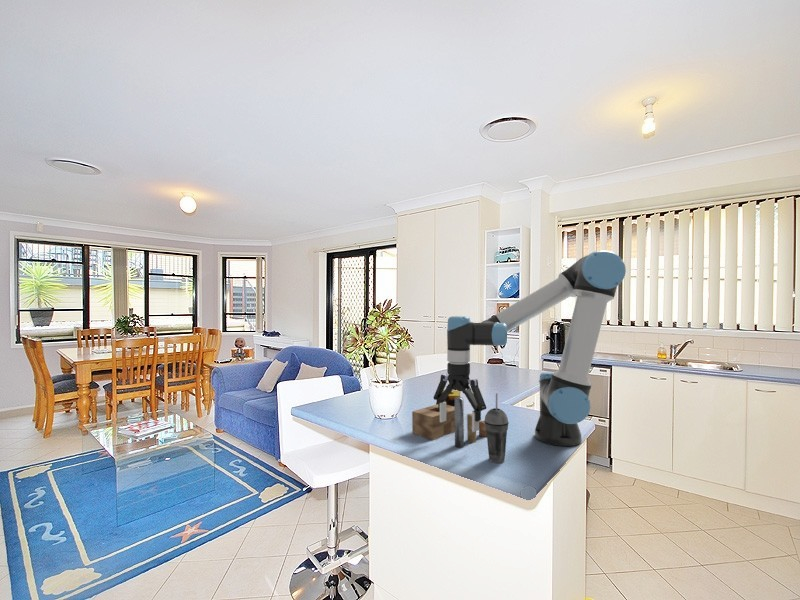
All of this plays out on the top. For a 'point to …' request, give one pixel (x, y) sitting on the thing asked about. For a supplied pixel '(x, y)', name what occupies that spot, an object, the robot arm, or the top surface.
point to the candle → (451, 397)
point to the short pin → (482, 429)
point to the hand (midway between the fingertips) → (458, 426)
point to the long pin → (459, 422)
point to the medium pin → (470, 429)
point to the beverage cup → (496, 433)
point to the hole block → (433, 422)
